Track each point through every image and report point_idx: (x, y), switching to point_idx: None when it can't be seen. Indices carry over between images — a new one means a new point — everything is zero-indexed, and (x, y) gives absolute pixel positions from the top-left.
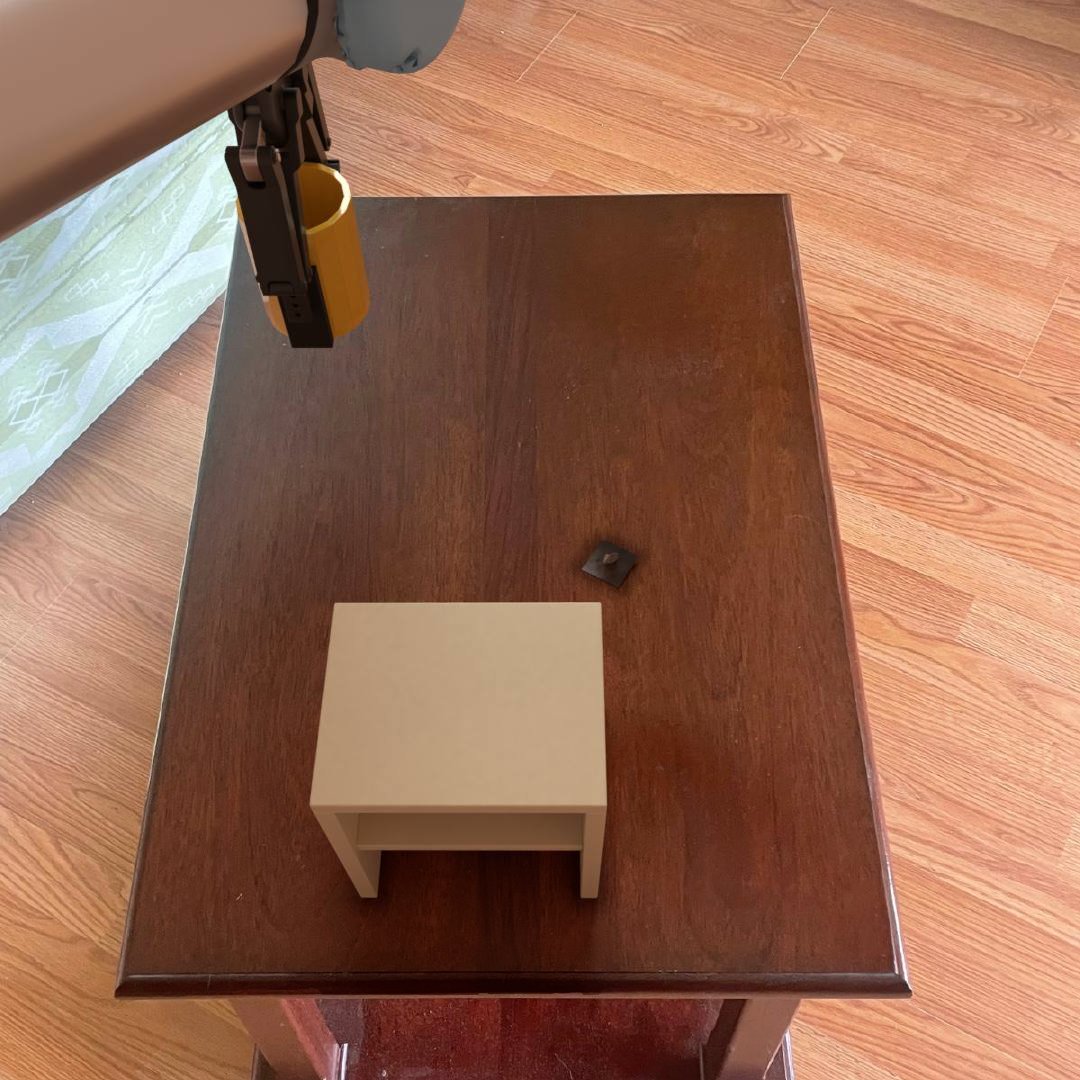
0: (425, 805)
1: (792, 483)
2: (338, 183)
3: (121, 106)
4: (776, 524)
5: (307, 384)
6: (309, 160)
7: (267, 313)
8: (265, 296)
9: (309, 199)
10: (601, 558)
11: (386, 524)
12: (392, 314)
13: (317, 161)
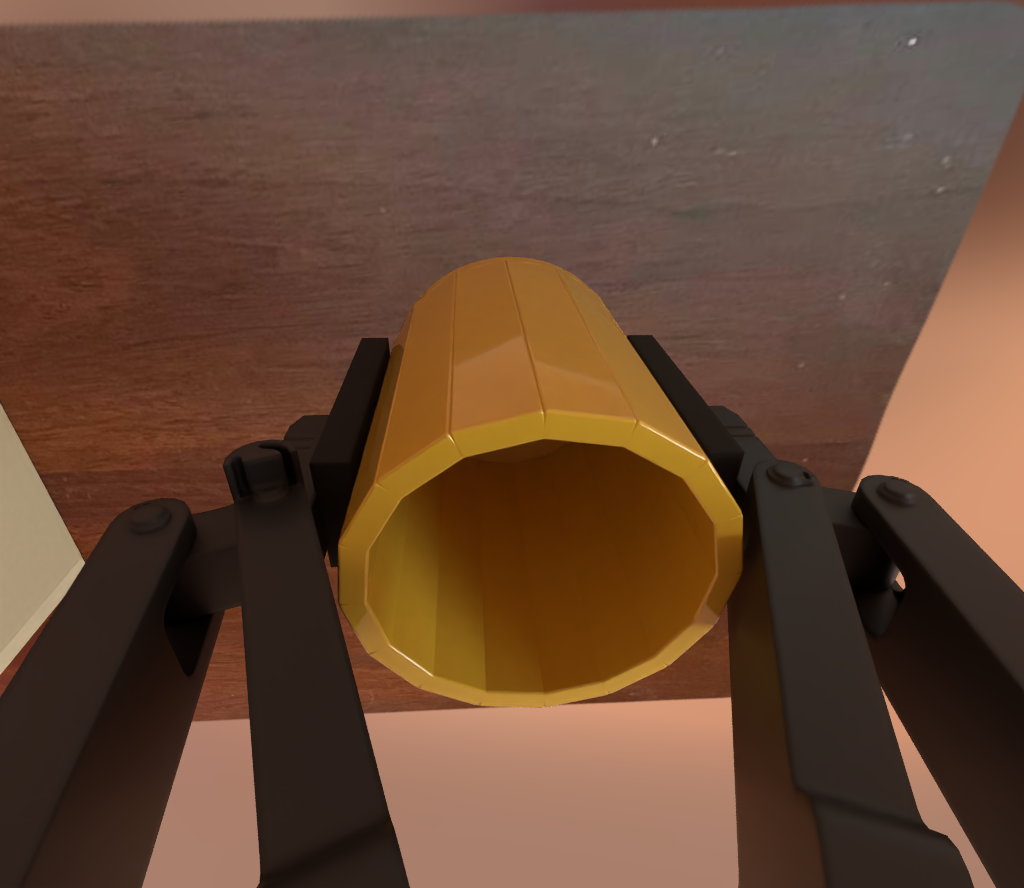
0: None
1: (408, 695)
2: (612, 669)
3: None
4: (360, 685)
5: (557, 198)
6: (738, 598)
7: (449, 278)
8: (426, 318)
9: (666, 497)
10: None
11: (294, 349)
12: (690, 324)
13: (731, 611)
